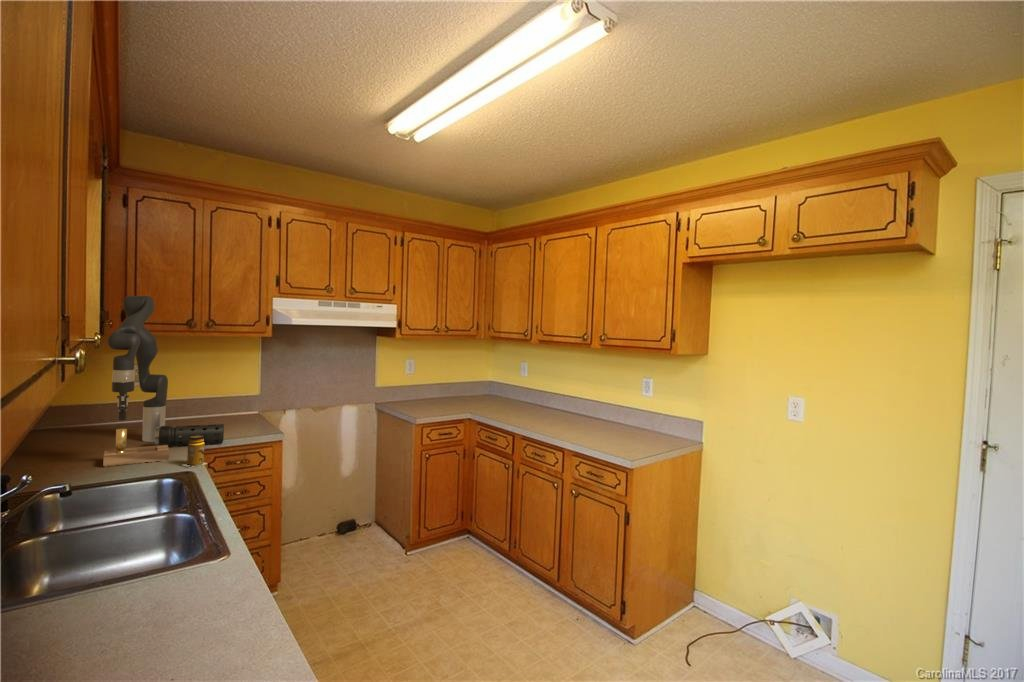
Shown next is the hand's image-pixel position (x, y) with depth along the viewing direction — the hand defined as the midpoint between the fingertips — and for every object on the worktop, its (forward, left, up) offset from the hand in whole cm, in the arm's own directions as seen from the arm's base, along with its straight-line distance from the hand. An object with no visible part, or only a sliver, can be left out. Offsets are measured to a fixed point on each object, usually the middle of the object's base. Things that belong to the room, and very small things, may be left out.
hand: (122, 418), depth 208 cm
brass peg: (0, 0, -19) cm, 19 cm away
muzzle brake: (-21, +26, -19) cm, 39 cm away
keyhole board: (0, +5, -19) cm, 20 cm away
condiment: (+17, +24, -19) cm, 35 cm away
